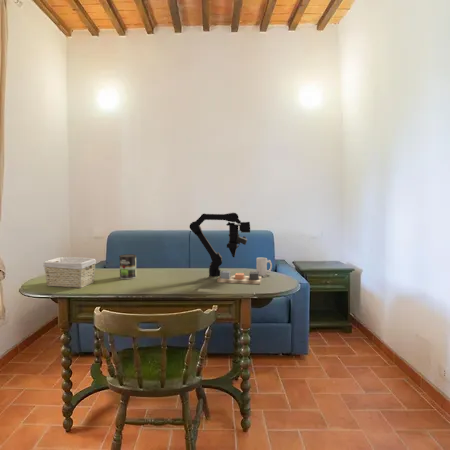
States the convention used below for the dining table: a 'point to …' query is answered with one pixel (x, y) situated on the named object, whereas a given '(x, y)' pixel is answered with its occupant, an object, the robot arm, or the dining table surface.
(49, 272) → the storage basket
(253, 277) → the dark grey cube
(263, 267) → the mug
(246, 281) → the birch panel
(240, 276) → the orange cube
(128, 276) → the coffee can
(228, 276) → the blue-grey cube
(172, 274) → the dining table surface
